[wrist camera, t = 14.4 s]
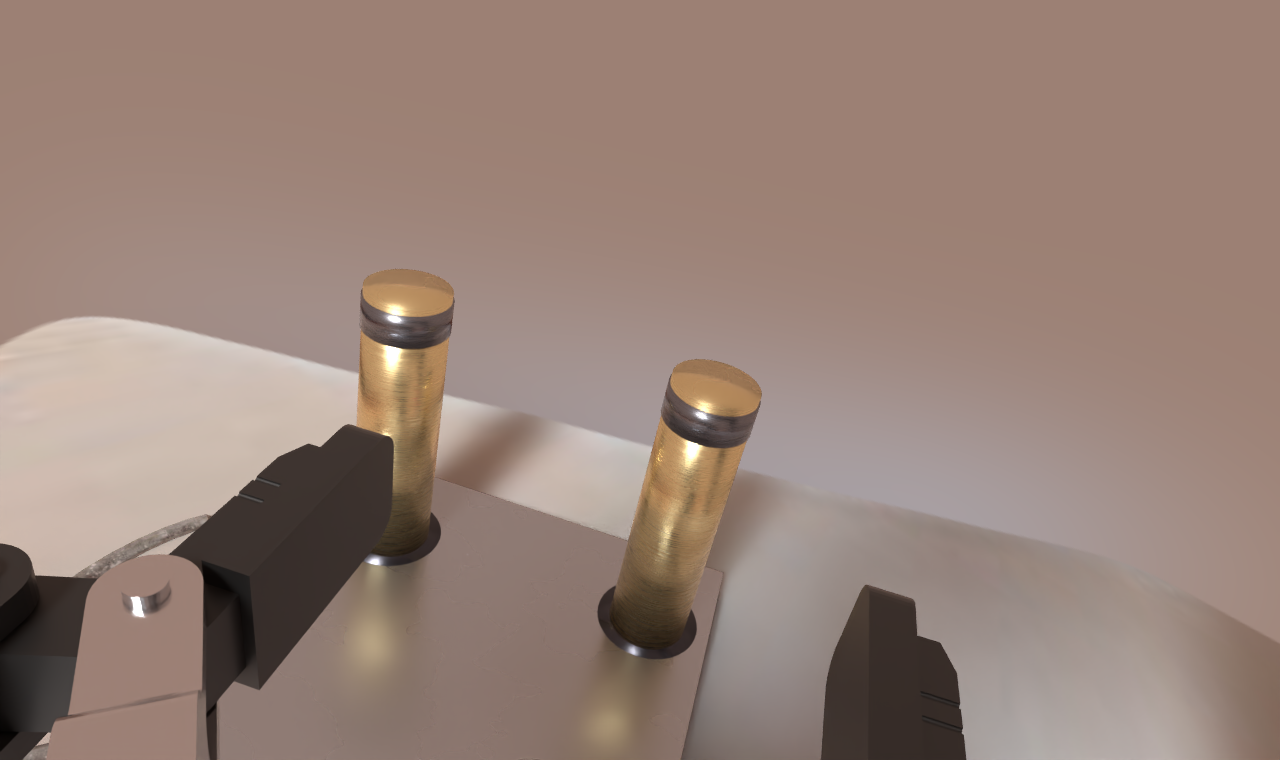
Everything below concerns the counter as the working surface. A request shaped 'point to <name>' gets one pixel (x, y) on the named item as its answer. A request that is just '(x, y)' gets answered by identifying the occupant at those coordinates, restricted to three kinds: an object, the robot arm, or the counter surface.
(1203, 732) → the counter surface
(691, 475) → the loose brass leg
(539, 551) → the flange plate
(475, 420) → the counter surface
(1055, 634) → the counter surface
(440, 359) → the fixed brass leg
